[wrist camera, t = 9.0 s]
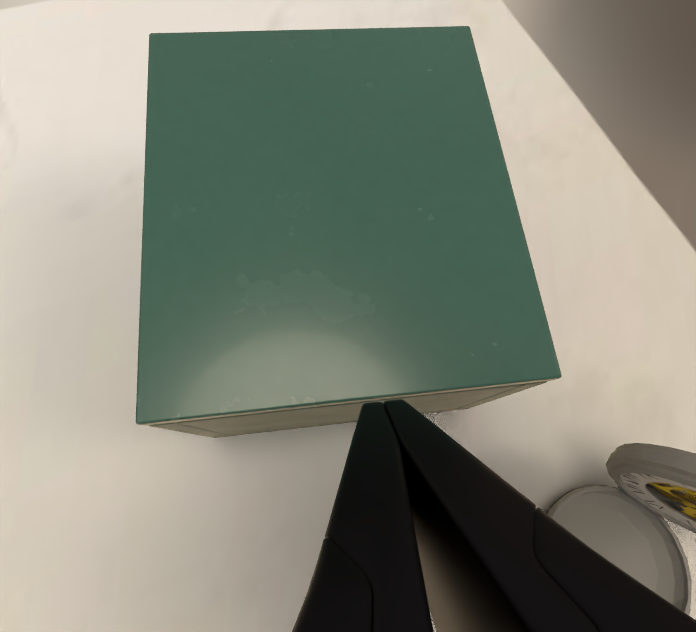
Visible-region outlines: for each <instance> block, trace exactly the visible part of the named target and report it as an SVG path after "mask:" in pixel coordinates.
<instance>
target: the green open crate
mask: <svg viewBox="0 0 696 632" xmlns="http://www.w3.org/2000/svg"><path fill="white" fill-rule="evenodd" d="M546 382H547V381H545V382H536V383H527V384H518V385H509V386H500V387H491V388H482V389H473V390H463V391H454V392H445V393H436V394H427V395H418V396H409V397H400V398H391V399H382V400H373V401H364V402H355V403H346V404H337V405H328V406H319V407H309V408H300V409H291V410H282V411H273V412H264V413H255V414H246V415H237V416H228V417H219V418H210V419H201V420H192V421H183V422H174V423H165V424H155V425H149V426H152V427H158V428H164V429H169V430H175V431H180V432H186V433H192V434H197V435H203V436H208V437H214V438H216V437H225V436H234V435H243V434H251V433H260V432H269V431H277V430H286V429H295V428H303V427H312V426H321V425H330V424H338V423H347V422H356V421H358V418H359V414H360V410H361V407H362V405H363V404H364V403H370V402H382V403H384V402H385V401H389V400H398V399H402V400H404V401H406V402H407V403H408V404H410V405H411V406H412V407H413V408H415V409H416V410H417V411H418V412H420V413H421V414H425V413H434V412H443V411H451V410H460V409H467V408H470V407H474V406H477V405H480V404H483V403H486V402H489V401H492V400H495V399H498V398H501V397H504V396H507V395H510V394H513V393H516V392H519V391H522V390H525V389H528V388H531V387H534V386H537V385H540V384H543V383H546Z"/></svg>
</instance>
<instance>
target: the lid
mask: <svg viewBox="0 0 696 632" xmlns="http://www.w3.org/2000/svg"><path fill="white" fill-rule="evenodd" d="M560 377H561V372H560V368H559V364H558V360H557V357H556V353H555V349H554V345H553V341H552V338H551V334H550V330H549V326H548V322H547V319H546V315H545V311H544V307H543V304H542V300H541V296H540V292H539V288H538V285H537V281H536V277H535V273H534V269H533V266H532V262H531V258H530V254H529V250H528V247H527V243H526V239H525V235H524V231H523V228H522V224H521V220H520V216H519V212H518V209H517V205H516V201H515V197H514V193H513V190H512V186H511V182H510V178H509V174H508V171H507V167H506V163H505V159H504V156H503V152H502V148H501V144H500V140H499V137H498V133H497V129H496V125H495V121H494V118H493V114H492V110H491V106H490V102H489V99H488V95H487V91H486V87H485V83H484V80H483V76H482V72H481V68H480V64H479V61H478V57H477V53H476V49H475V45H474V42H473V38H472V34H471V30H470V27H469V26H454V27H411V28H368V29H324V30H281V31H237V32H194V33H151V34H150V35H149V61H148V90H147V118H146V147H145V175H144V204H143V233H142V261H141V290H140V319H139V347H138V376H137V404H136V423H137V424H139V425H155V424H165V423H174V422H183V421H192V420H201V419H210V418H219V417H228V416H237V415H246V414H255V413H264V412H273V411H282V410H291V409H300V408H309V407H319V406H328V405H337V404H346V403H355V402H364V401H373V400H382V399H391V398H400V397H409V396H418V395H427V394H436V393H445V392H454V391H463V390H473V389H482V388H491V387H500V386H509V385H518V384H527V383H536V382H545V381H551V380H555V379H558V378H560Z"/></svg>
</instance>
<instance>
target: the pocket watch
mask: <svg viewBox="0 0 696 632" xmlns="http://www.w3.org/2000/svg"><path fill="white" fill-rule="evenodd" d="M606 467H607V470H608V473H609V475H610V476H611V477H612V478H613V479H614V480H615V482H616V483H617V484H618V485H619V486H618V488H619V489H617V488H614V487H609V486H586V487H582V488H579V489H576V490H573V491H570V492H568V493H567V494H566V495H564V496H563V497H562V498H560V499H559V500H558V501H557V502H556V503H555V504H554V505H553V507H552V508H551V509H550V510H549V512H548V515H549V516H550V517H551V518H553V519H554V520H555V521H556V522H558V523H559V524H560V525H561V526H563V527H564V528H565V529H567V530H568V531H569V532H571V533H572V534H573V535H575V536H576V537H577V538H578V539H580V540H581V541H582V542H584V543H585V544H586V545H588V546H589V547H590V548H592V549H593V550H594V551H596V552H597V553H599V554H600V555H601V556H603V557H604V558H606V559H607V560H609V561H610V562H611V563H613V564H614V565H616V566H617V567H618V568H620V569H621V570H623V571H624V572H626V573H627V574H628V575H630V576H631V577H633V578H634V579H636V580H637V581H639V582H640V583H642V584H643V585H645V586H646V587H647V588H649V589H650V590H652V591H653V592H655V593H656V594H658V595H659V596H661V597H662V598H664V599H665V600H667V601H668V602H670V603H671V604H672V605H674V606H675V607H677V608H678V609H680V610H681V611H683V612H684V613H686V614H687V615H689V613H690V603H691V581H692V580H691V576H690V571H689V567H688V562H687V558H686V556H685V554H684V551H683V549H682V547H681V545H680V542H679V540H678V538H677V536H676V535H675V533H674V532H673V531H672V529H671V528H670V526H669V525H668V523H667V522H666V521H665V520H664V518H666V519H668V520H670V521H671V522H673V523H675V524H677V525H679V526H681V527H683V528H685V529H687V530H689V531H692V532H694V533H696V454H695V453H691V452H687V451H683V450H679V449H675V448H670V447H664V446H658V445H652V444H640V443H633V444H624V445H622V446H619V447H617V448H616V450H615V452H613V453H612V454H611V455H610V457H609V459H608V461H607V463H606ZM694 496H695V497H694ZM663 517H664V518H663Z"/></svg>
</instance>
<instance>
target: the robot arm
mask: <svg viewBox="0 0 696 632" xmlns="http://www.w3.org/2000/svg"><path fill="white" fill-rule="evenodd" d="M429 609H430V611H429ZM430 612H431V615H432V618H433V621H434V624H435V628H436V631H437V632H696V620H695V619H693V618H692V617H690V616H689V615H687V614H686V613H684V612H683V611H681V610H680V609H678V608H677V607H675V606H674V605H672V604H671V603H670V602H668V601H667V600H665V599H664V598H662V597H661V596H659V595H658V594H656V593H655V592H653V591H652V590H650V589H649V588H647V587H646V586H645V585H643V584H642V583H640V582H639V581H637V580H636V579H634V578H633V577H631V576H630V575H628V574H627V573H626V572H624V571H623V570H621V569H620V568H618V567H617V566H616V565H614V564H613V563H611V562H610V561H609V560H607V559H606V558H604V557H603V556H601V555H600V554H599V553H597V552H596V551H594V550H593V549H592V548H590V547H589V546H588V545H586V544H585V543H584V542H582V541H581V540H580V539H578V538H577V537H576V536H575V535H573V534H572V533H571V532H569V531H568V530H567V529H565V528H564V527H563V526H561V525H560V524H559V523H558V522H556V521H555V520H554V519H553V518H551V517H550V516H549V515H548V514H546V513H545V512H544V511H543V510H541V509H540V508H537V509H536V506H535V504H534V503H532V502H531V501H530V500H529V499H527V498H526V497H525V496H524V495H522V494H521V493H520V492H518V491H517V490H516V489H515V488H513V487H512V486H511V485H510V484H508V483H507V482H506V481H505V480H503V479H502V478H501V477H500V476H498V475H497V474H496V473H495V472H493V471H492V470H491V469H490V468H488V467H487V466H486V465H485V464H483V463H482V462H481V461H480V460H478V459H477V458H476V457H475V456H473V455H472V454H471V453H470V452H468V451H467V450H466V449H465V448H463V447H462V446H461V445H460V444H458V443H457V442H456V441H455V440H453V439H452V438H451V437H450V436H448V435H447V434H446V433H445V432H443V431H442V430H441V429H440V428H438V427H437V426H436V425H435V424H433V423H432V422H431V421H430V420H428V419H427V418H426V417H425V416H423V415H422V414H421V413H420V412H418V411H417V410H416V409H415V408H413V407H412V406H411V405H410V404H408V403H407V402H406V401H404V400H402V399H398V400H389V401H385V402H384V403H382V402H370V403H364V404H363V405H362V407H361V410H360V414H359V418H358V421H357V425H356V428H355V432H354V435H353V439H352V442H351V446H350V449H349V453H348V456H347V460H346V463H345V467H344V471H343V474H342V478H341V481H340V485H339V488H338V492H337V495H336V499H335V502H334V506H333V509H332V513H331V516H330V520H329V524H328V527H327V531H326V534H325V539H324V540H323V544H322V547H321V551H320V554H319V558H318V561H317V564H316V567H315V570H314V574H313V577H312V580H311V583H310V586H309V589H308V592H307V595H306V597H305V600H304V603H303V605H302V608H301V610H300V613H299V615H298V618H297V621H296V623H295V626H294V628H293V631H292V632H433V627H432V622H431V616H430Z"/></svg>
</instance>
